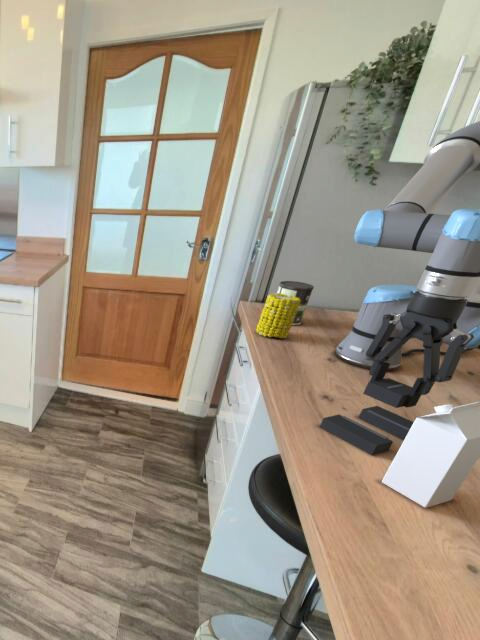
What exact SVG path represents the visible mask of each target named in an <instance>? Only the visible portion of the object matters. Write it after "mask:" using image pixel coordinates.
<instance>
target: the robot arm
mask: <svg viewBox="0 0 480 640" xmlns="http://www.w3.org/2000/svg"><path fill="white" fill-rule="evenodd" d="M475 171H476V172H478V171H479V172H480V120H478V121H475V122H473V123H471V124H468V125H466V126H463V127H462V128H460V129H458V130H455V131H454V132H452V133H451V134H448V135H447V136H445V137H444V138H442V139H440V140H439V141H438V142H437V143H436V144H435V145H434V146H433V147H432V148H431V149H430V150H429V151H428V152H427V153H426V155H425V157H424V160H423V164H422V166H421V167H420V168H419V170H418V171H417V172H416V173H415V174H414V175H413V177H411V179H410V180H409V181H408V182H407V183H406V185H404V187H403V188H402V189H401V190H400V191H399V193H398V194H397V195H396V196H395V197H394V199H392V201H391V202H390V203H389V204H388V205H387V206H386V207H385V209H382V208H381V209H369V210H367V211H366V212H364V214H363V215H362V216H361V218H359V219H360V220H359V221H358V223H357V226H356V228H355V231H354V236H353V237H354V242H355V243H356V244H358V245H364V246H369V247H373V248H384V249H394V250H401V251H402V250H403V251H411V252H412V251H413V252H419V253H426V254H427V253H428V254H431V256H430V258H429V260H428V263H427V264H426V266H425V268H424V271H423V273H422V274H421V277H420V279H419V281H418V283H417V285H410V284H380V285H375V286H373V287H370V289H369V290H368V291H367V293H366V295H365V298H364V299H363V300H362V304H361V306H360V309H359V311H358V314H357V316H356V319H355V321H354V324H353V326H352V329H351V330H350V332H349V333H348V334H347V336H346V337H344V339H343V340H342V341H341V342H340V343H338V345H337V346H336V348H335V349H334V353H333V355H334V356H335V357H336V358H337V359H338V360H340V361H342V362H344V363H346V364H348V365H351V366H355V367H358V368H362V369H366V370H369V371H368V375H369V376H371V378H370V380H369V382H371V381H376V380H381V379H385V376H386V374H387V372H393V371H397V370H399V369H400V366H401V365H402V360H403V359H402V358H403V357H405V356H409V355H410V354H412V353H419V352H420V353H424V354H423V366H422V367H423V369H422V376H421V377H417V378H416V380H415V381H414V383H413V385H412V386H411V387H412V389H411V391H410V393H409V395H408V397H407V399H406V401H405V403H404V405H403V407H404V408H406V409H407V408H412V407H416V406H417V404H418V402H419V401H420V398H421V396H426V395H428V394H429V393H430V392H431V390H432V388H433V386H434V384H435V383H437V382H438V383H445V382H449V381H451V380H452V379H453V376H454V375H455V371H456V370H457V367H458V364H459V362H460V360H461V358H462V355H463V354H465V353H467V352H469V351H472V350H474V349H475V348H478V349H480V208H459V209H456V210H455V211H453V212H452V213H451V214H439V213H437V214H436V213H434V211H435V210H436V209H437V208H438V206H439V205H440V204H441V203H442V201H443V200H444V199H445V198H446V197H447V195H448V194H449V193H450V192H451V190H453V188H454V187H455V186H456V184H457V183H458V182H459V181H460V180H461V178H462V177H465V176H466V175H468V174H470V173H472V172H475ZM411 339H417V340H418V341H420V342H422V347H423V348H414V349H413V348H412V349H409V350H407V351H406V352H403V351H402V350H403V346H405V345H406V343H408V341H410V340H411ZM443 344H445V345H448V346H447V349H446V351H442V350H441V347H442V346H443ZM442 355H443V359H442V361H441V360H440V359H441V356H442ZM440 361H441V362H440ZM440 363H441V364H440Z"/></svg>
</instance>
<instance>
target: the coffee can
mask: <svg viewBox="0 0 480 640" xmlns="http://www.w3.org/2000/svg"><path fill="white" fill-rule="evenodd" d="M314 288H315V286H314V285H312V284H310V283H307V282H301V281H293V280H283V281H280V282H279V284H278V289H277V292H276V293H277V294H278V293H281V294H283V295H284V294H286V295H287V296H289V295H291V296H293V297H297V298H300V300H301V302H300V305H299V306H298V310H297V311H296V312H297V313H296V315H295V318H294V322H292V323H293V324H292V325H291V326H299V325H301V324H302V320H303V318H304V315H305V312H306V309H307V306H308V303H309V300H310V299H311V295H312V292H313V290H314Z"/></svg>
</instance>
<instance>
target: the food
mask: <svg viewBox="0 0 480 640" xmlns="http://www.w3.org/2000/svg"><path fill="white" fill-rule="evenodd" d="M300 302H301V300H300V298H297V297H293V296H291V295H289V296H287V295H286V294H284V295H283V294H281V293H278V294H277V292H275V293H270V294H268V295H267V298H266V300H265V303H264V304H263V305H264V306H263V308H262V310H261V313H260V316H259V320H258V323H257V325H256V329H255V332H256V333H257V335H258V334H259V336H260V337H262V336H263V337H264V338H267V337H269V338H273V337H274V338H278V339H286V338H287V337H288V335H289V334H290V330H291V328H292V326H293V325H292V324H293V323H292V322H294V318H295V315H296V313H297V312H296V311H297V310H298V306H299V305H300Z"/></svg>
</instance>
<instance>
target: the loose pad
mask: <svg viewBox="0 0 480 640" xmlns="http://www.w3.org/2000/svg"><path fill="white" fill-rule="evenodd" d="M412 387H413V386H410V385H407V384H405V383H402V382H400V381H397V380H395V379H393V378H390V377H386V378H383V379H381V380H376V381H371V382H370V381H368V383H367V384H366V386H365V389H364V390H363V395H366V396H367V397H370V398H372V399H374V400H377V401H379V402H380V403H384V404H385V405H388V406H390V407H393V408H395V409H399V408H403V407H404V406H403V405H404V403H405V401H406V399H407V397H408V395H409V393H410V391H411V389H412Z"/></svg>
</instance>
